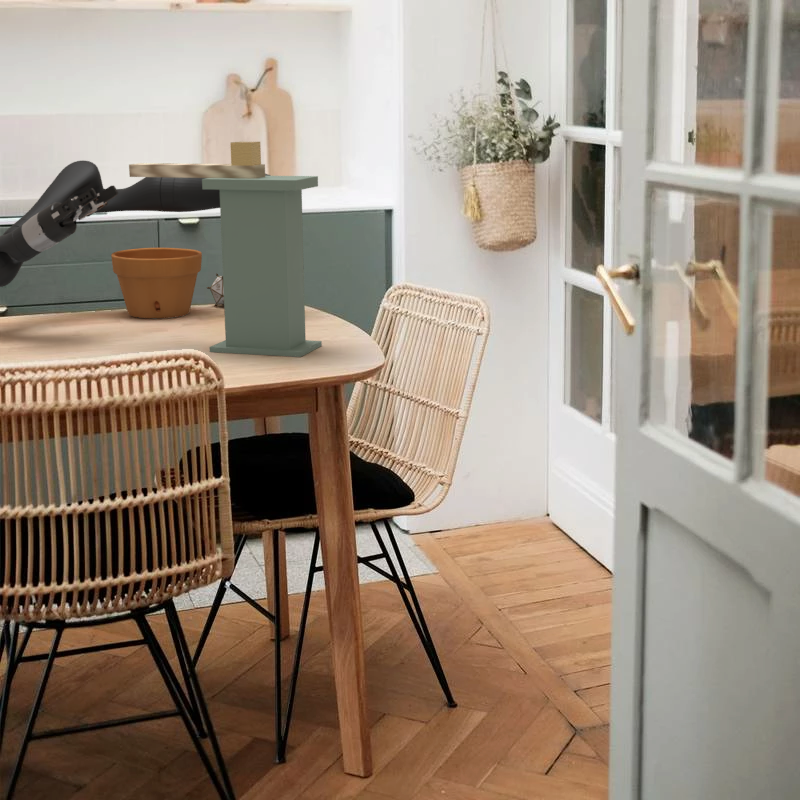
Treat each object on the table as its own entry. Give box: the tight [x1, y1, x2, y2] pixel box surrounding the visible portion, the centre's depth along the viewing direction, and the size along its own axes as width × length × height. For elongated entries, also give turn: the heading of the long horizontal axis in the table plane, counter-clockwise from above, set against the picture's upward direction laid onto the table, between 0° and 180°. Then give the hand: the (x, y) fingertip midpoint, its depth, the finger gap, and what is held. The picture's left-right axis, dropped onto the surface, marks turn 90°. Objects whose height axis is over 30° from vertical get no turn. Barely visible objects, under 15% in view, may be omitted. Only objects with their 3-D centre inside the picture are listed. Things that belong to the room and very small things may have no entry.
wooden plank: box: [128, 162, 266, 178], centre depth 264 cm, size 28×5×2 cm, turn 73°
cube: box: [230, 141, 262, 166], centre depth 260 cm, size 4×4×4 cm
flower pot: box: [110, 247, 203, 319], centre depth 310 cm, size 21×21×15 cm
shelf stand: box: [202, 175, 323, 358], centre depth 264 cm, size 20×12×35 cm, turn 73°
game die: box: [206, 272, 224, 307], centre depth 321 cm, size 9×8×10 cm
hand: (105, 190), depth 271 cm, fingers open, 8 cm apart
